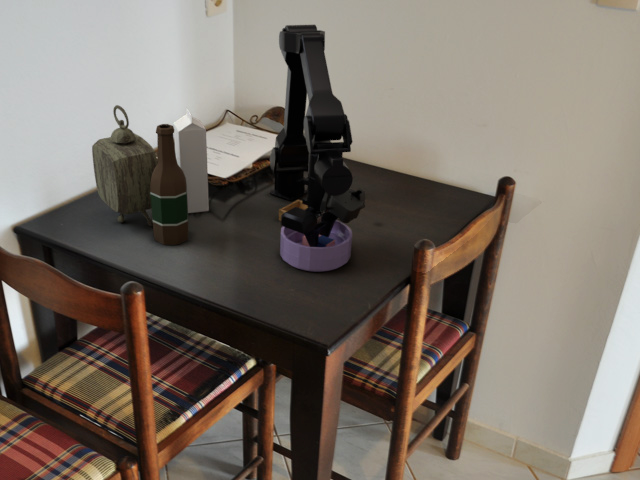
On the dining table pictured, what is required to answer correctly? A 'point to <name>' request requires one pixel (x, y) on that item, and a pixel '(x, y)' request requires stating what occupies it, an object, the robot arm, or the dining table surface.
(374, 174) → the dining table surface
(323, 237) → the eraser
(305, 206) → the tray
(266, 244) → the dining table surface
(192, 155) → the milk
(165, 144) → the beer bottle
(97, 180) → the tabletop clock
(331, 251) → the bowl
